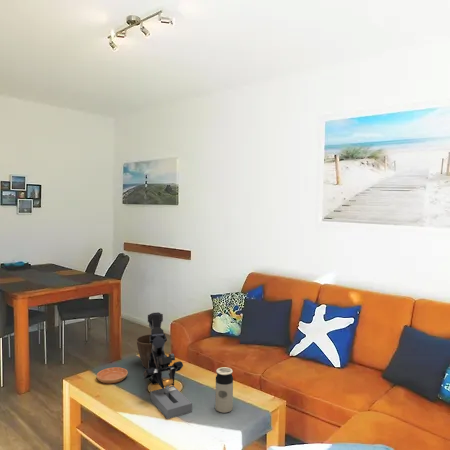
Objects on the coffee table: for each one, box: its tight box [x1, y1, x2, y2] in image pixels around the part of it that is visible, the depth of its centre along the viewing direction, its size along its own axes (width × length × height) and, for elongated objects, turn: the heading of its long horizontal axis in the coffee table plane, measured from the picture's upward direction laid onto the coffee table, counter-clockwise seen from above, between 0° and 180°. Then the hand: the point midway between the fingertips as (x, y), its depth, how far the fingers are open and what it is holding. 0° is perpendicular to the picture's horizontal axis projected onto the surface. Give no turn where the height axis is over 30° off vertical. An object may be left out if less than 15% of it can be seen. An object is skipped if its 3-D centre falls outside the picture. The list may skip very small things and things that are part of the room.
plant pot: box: [136, 334, 152, 369], centre depth 229 cm, size 15×15×16 cm
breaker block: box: [149, 385, 193, 420], centre depth 185 cm, size 20×12×4 cm, turn 32°
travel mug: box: [214, 366, 234, 414], centre depth 183 cm, size 8×8×18 cm
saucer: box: [96, 366, 129, 385], centre depth 213 cm, size 16×16×3 cm
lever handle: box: [162, 377, 173, 398], centre depth 188 cm, size 3×5×10 cm
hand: (168, 387), depth 187 cm, fingers closed on lever handle, 5 cm apart
